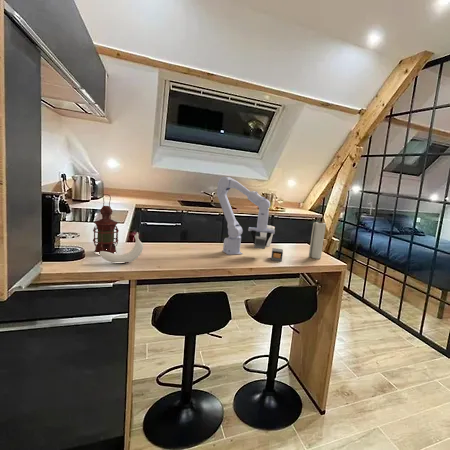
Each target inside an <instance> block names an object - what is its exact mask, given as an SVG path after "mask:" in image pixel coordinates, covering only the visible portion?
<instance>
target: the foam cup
mask: <svg viewBox="0 0 450 450" xmlns="http://www.w3.org/2000/svg"><path fill="white" fill-rule="evenodd" d="M275 228H276V227H275V226H273V225H268V224H267V229H271V230H276V229H275ZM264 232H265V231H264ZM273 235H274V234H272V233H271V236H270V238H269V240H268V242H267V245H266V246H265V248H267V247H271V243H272V240H273ZM266 236H267V233H263V232H259V237H266Z"/></svg>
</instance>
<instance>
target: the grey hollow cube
mask: <svg viewBox="0 0 450 450" xmlns="http://www.w3.org/2000/svg"><path fill="white" fill-rule="evenodd" d="M265 242H266V237H260V235H259V236H258V235H256V237H255V245H254V244H253V245H254V246H253V247H254V249H261V250H265V249H266V247H265Z"/></svg>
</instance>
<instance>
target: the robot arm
mask: <svg viewBox="0 0 450 450" xmlns="http://www.w3.org/2000/svg"><path fill="white" fill-rule="evenodd" d="M216 189H217V191H216V196H217V200H218V202H219V205H220V207H221V210H222V212H223V215H224V218H225V220H226V222H227V234H228V237H225V238H223V239H224V240H223V246H222V247H223V248H222V252H223V253H225V254H226V255H243V252H242V251H241V242H242V234H243V232H244V230H243V227H242V226H241V225H240V223H239V222H238V220H237V219H236V217H235V216H236V215H235V213H234V211H233V208H232V206H231V203H230V201H229V198H228V193H229V190H230V189H235V190H237V191H239V192H240V193H242V194H243V195H245V196H246V197H247V200H248V201H250V202H251V203H252V204H254V205H255V206H256V207H258V212H257V213H258V214H257V223H256V227H253V226H252V227H251V226H249V227H248V229H247V230H248V232H251V237H252V240H253V245H255V237H256V236H257V233H260V232H263V233H267V236H266V242H265V246H266V245H267V242H268V240H269V238H270V236H271V233H272V234H273V235H275V232H276V229H274V230H271V229H267V225H268V222H269V214H270V213H269V212H270V207H271V206H272V205H271V202H270V200H269V199H267V198H266V197H265V196H262V195H260V194H259V192H258V191H256V190H251V191H250V189H248V188H247V187H246V186H244V185H243V184H242V183H240V182H239V181H238V180H236V179H234V178H232V177H231V176H222V177H220V178H219V180H218V181H217V188H216ZM264 231H265V232H264Z"/></svg>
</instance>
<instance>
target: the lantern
mask: <svg viewBox="0 0 450 450" xmlns="http://www.w3.org/2000/svg"><path fill="white" fill-rule="evenodd" d="M105 195H106V196H109V203H108V205H105V199H104V196H105ZM102 200H103V201H102V202H103V205H102V206H101V208H100V210H99V212H100V214H101V218H100V219H98V220H95V221H94V225H95V226H94V227H93V228H92V229H93V230H92V231H93V240H92V242H93V244H94V246H95V249H94V252H95V251H96V252H99V253H100V251H105V252H110V253H114V252H116V253H117V248H116V246H118V243H119V231H120V230H119V228H118V226H117V225H118V224H119V223H118V221H116V220H113V219H112V214H113V209H112V208H111V206H110V204H111V195H110V194H107V193H103V194H102ZM96 230H97V231H96ZM96 233H97V234H96ZM96 235H97V237H96ZM96 240H97V241H96ZM106 249H107V250H106Z"/></svg>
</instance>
